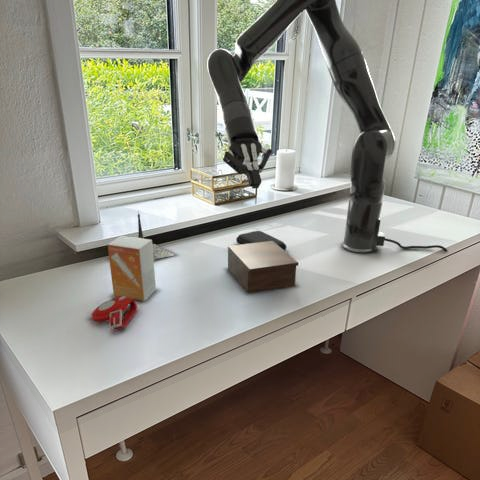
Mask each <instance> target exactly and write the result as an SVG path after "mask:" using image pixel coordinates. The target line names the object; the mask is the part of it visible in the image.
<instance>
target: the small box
mask: <svg viewBox="0 0 480 480" xmlns="http://www.w3.org/2000/svg"><path fill="white" fill-rule="evenodd" d="M152 244H153V239H149V238H144V239H142V238H138V237H137V236H127V235H120V236H118V237H117V238H115V239H113V240H112V241H110V242H109V243H107V251H108V253H107V254H108V259H109V267H110V275H111V283H112V290H113V296H114V297H118V296H125V297H129V298H133V299H134V300H137V301H141V302H145V301H146V300H147V299H148V298H150V297H151V296H152V295H153V293H155V292H156V290H157V287H156V274H155V264H154V263H155V260H154V259H153V247H152Z"/></svg>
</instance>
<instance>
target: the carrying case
mask: <svg viewBox="0 0 480 480" xmlns="http://www.w3.org/2000/svg"><path fill="white" fill-rule="evenodd" d="M235 239H236V243H237V244H238V245H241V244H250V243H258V242H266V241H274V242H275V243H276V244H277V245H278V246H279V247H281V248H282V249H283V250H284V251H285V252H286V250H287V247H288V246H287V244H286V243H285V242H284V241H282V240H280V239H278V238H276V237H274V236H272V235H270V234H268V233H266V232H264V231H261V230H253V231H249V232H245V233H240V234H239V235H238V236H236V238H235Z"/></svg>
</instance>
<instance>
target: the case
mask: <svg viewBox="0 0 480 480" xmlns="http://www.w3.org/2000/svg"><path fill="white" fill-rule="evenodd" d="M227 270H228V271H229V272H230V274H231V275H232V276H233V277H234V279H235V280H236V281H237V282H238V283H239V284H240V286H241V287H242V288H243V289H244V290H245V292H246V293H247V294H250V293H257V292H263V291H270V290H277V289H283V288H289V287H295V286H296V278H297V277H296V276H297V266H292V267H284V268H277V269H270V270H263V271H256V272H249V271H248V270H247V269H246V268H245V267H244V266H243V265H242V263H241V262H240V261H239V260H238V259H237V258H236V257H235V256H234V255H233V254H232V253H231V252H230V250H229V249H228V248H227Z"/></svg>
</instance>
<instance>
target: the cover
mask: <svg viewBox="0 0 480 480" xmlns="http://www.w3.org/2000/svg"><path fill="white" fill-rule="evenodd" d="M228 249H229V250H230V252H231V253H232V254H233V255H234V256H235V257H236V258H237V259H238V260H239V261H240V262H241V263H242V265H243V266H244V267H245V268H246V269H247V270H248V271H249V272H256V271H263V270H270V269H277V268H284V267H292V266H296V267H297V266H299V262H298V261H297V260H296V259H295V258H294V257H292V256H291V254H289V253H288V252H287V251H286V250H285V251H284V250H283V249H282V248H281V247H279V246H278V245H277V244H276V243H275V242H274V241H266V242H258V243H250V244H241V245H240V244H234V245H228V246H227V250H228Z"/></svg>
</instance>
